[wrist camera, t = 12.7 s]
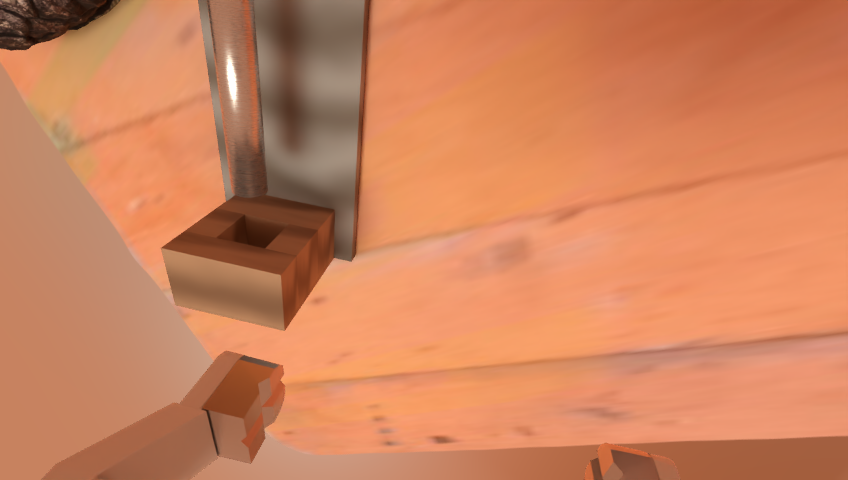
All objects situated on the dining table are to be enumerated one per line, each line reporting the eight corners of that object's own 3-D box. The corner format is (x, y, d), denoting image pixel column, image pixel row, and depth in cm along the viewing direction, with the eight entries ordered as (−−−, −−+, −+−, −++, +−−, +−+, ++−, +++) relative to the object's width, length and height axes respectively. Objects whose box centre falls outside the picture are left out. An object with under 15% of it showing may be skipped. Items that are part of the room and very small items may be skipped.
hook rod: (244, -132, 27) (168, -170, 21) (289, -125, 27) (225, -162, 21) (266, 162, 38) (221, 193, 32) (298, 169, 38) (258, 201, 32)
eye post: (187, -149, 29) (-3, -239, 18) (376, -123, 28) (293, -201, 17) (237, 229, 46) (154, 300, 35) (354, 255, 45) (306, 336, 34)
